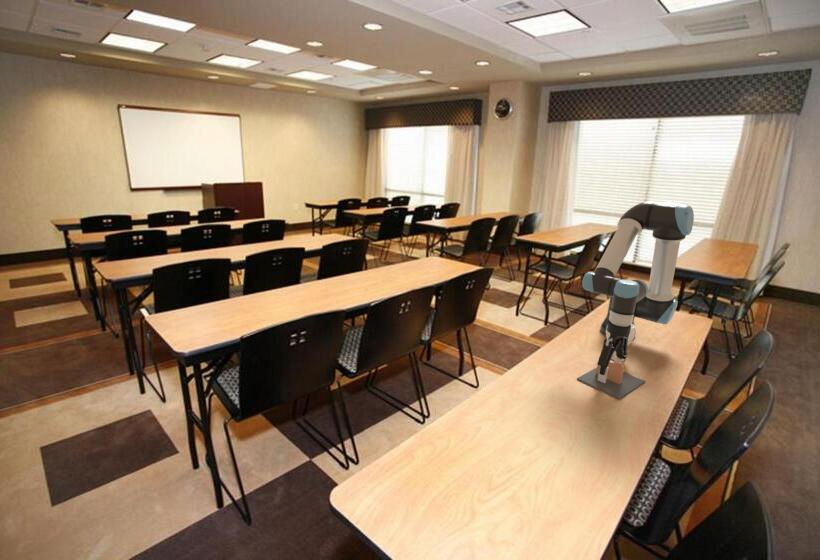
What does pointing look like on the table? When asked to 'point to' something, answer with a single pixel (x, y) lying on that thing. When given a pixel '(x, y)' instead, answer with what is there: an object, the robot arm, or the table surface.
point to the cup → (630, 338)
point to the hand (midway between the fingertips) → (608, 377)
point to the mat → (612, 384)
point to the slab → (614, 372)
